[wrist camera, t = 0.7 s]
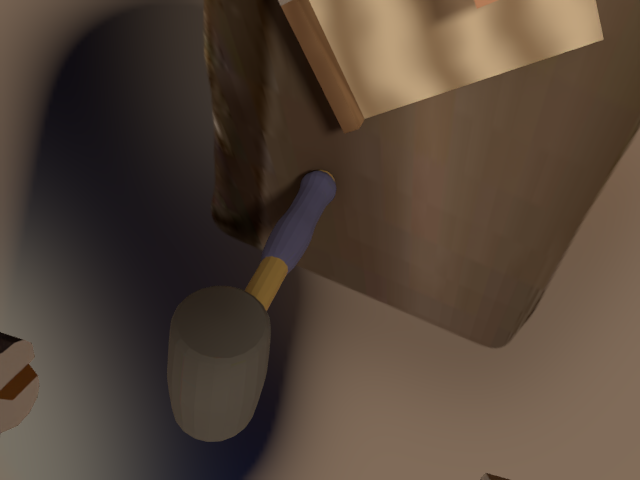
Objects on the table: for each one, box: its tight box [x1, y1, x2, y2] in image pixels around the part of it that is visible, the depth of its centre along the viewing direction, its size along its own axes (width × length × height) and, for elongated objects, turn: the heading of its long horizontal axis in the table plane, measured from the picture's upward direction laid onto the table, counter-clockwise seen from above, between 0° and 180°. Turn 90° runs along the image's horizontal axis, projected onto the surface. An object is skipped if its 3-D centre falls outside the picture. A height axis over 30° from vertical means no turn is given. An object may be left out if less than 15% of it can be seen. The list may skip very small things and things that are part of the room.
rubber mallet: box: [167, 170, 336, 442], centre depth 48 cm, size 12×8×30 cm, turn 170°
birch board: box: [281, 0, 604, 134], centre depth 42 cm, size 22×14×4 cm, turn 119°
